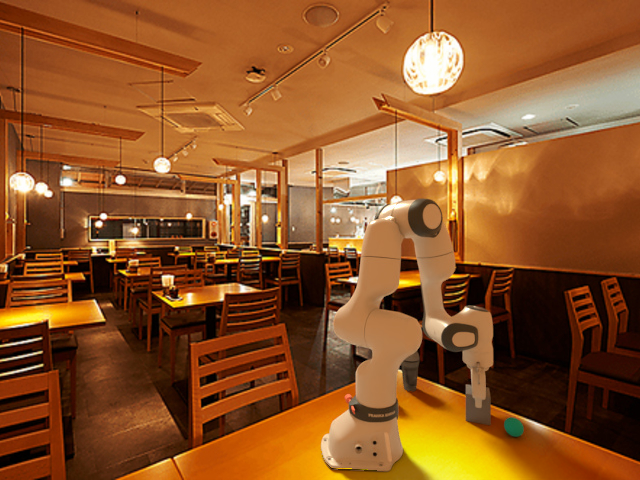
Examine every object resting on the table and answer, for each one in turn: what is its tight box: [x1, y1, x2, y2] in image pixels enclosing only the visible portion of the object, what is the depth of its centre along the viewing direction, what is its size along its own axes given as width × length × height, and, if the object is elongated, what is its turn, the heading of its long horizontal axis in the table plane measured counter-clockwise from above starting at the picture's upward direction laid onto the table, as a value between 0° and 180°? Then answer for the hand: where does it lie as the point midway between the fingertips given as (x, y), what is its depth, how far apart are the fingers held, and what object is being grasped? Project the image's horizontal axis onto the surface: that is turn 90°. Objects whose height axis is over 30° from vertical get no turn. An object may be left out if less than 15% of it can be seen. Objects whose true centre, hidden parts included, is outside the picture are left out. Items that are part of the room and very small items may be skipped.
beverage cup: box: [400, 350, 421, 392], centre depth 130 cm, size 7×7×20 cm
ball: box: [503, 416, 524, 438], centre depth 101 cm, size 5×5×5 cm
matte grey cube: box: [465, 384, 492, 426], centre depth 111 cm, size 7×7×9 cm
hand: (477, 399), depth 111 cm, fingers open, 8 cm apart
